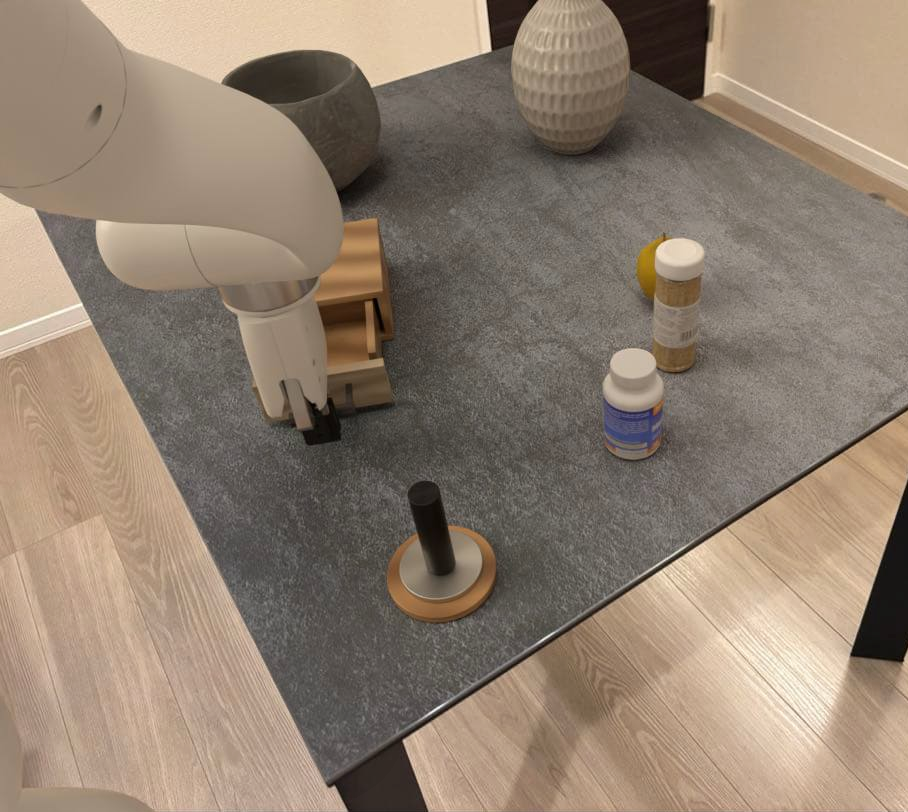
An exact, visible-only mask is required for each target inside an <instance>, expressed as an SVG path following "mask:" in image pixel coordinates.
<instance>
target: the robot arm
mask: <svg viewBox="0 0 908 812" xmlns="http://www.w3.org/2000/svg"><path fill="white" fill-rule="evenodd" d="M0 194H1V195H3V196H4V197H6V198H8V199H9V200H11V201H13V202H16V203H18V204H19V205H22V206H26V207H27V208H31V209H34V210H37V211H40V212H43V213H48V214H54V215H60V216H67V217H72V218H80V219H86V220H93V221H95V238H96V239H95V240H96V245H97V248H98V251H99V252H98V253H99V254H100V256H101V258H102V261H103V263H104V264H105V266H106V267H107V269H108V270H109V272H110V273H112V275H114V276H115V277H116V278H117V279H118V280H120V281H121V282H123V283H124V284H127V285H128V286H131V287H132V288H137V289H140V290H147V291H152V292H153V291H155V292H156V291H159V292H160V291H161V292H163V291H164V292H165V291H166V292H167V291H169V292H170V291H183V290H184V291H185V290H194V289H195V290H196V289H206V288H217V290H218V293H219V295H220V298H221V299H222V300H221V301H222V303H223V305H224V306H225V308H226V309H227V310H228V311H230V312H231V313H233V314H235V315H237V316H236V317H237V321H238V326H239V331H240V335H241V340H242V344H243V348H244V350H245V354H246V357H247V360H248V364H249V366H250V370H251V373H252V376H253V379H255V382H256V384H257V387H258V390H259V393H260V396H261V399H262V402H263V405H264V407H265V410H266V413H267V414H268V415H269V416H270V417H271V418H276V417H282V412H283V406H284V400H285V397H287V399H288V401H289V404H290V406H291V409H292V412H293V415H294V419H295V422H296V425H297V427H296V428H297V431H298V432H301V434H302V436H303V440H304V443H305V444H306V445H307V446H316V445H322V444H323V445H324V444H328V443H329V444H330V443H334V442H340V441H341V440H342V424H341V423H342V422H341V419H340V420H339V417H338V414H337V411H336V408H335V405H334V402H333V399H332V397H330V398H327V397H328V396H329V389H328V385H327V343H326V336H325V331H324V327H323V323H322V320H321V316H320V313H319V310H318V307H317V303H316V300H315V297H314V294H315V293H316V291H317V289H318V288H319V285H320V275H321V274H323V273H324V272H326V271H327V270H328V269H330V267H331V266H332V265H333V264H334V263H335V261H336V259H337V257H338V255H339V253H340V250H341V246H342V241H343V232H344V225H343V223H344V216H343V210H342V205H341V202H340V198H339V195H338V192H336V189H335V187H334V185H333V182H332V180H331V178H330V176H329V174H328V172H327V170H326V168H325V167H324V165H323V163H322V162H321V160H320V158H319V157H318V155H317V154H316V152H315V151H314V149H313V148H312V146H311V145H310V144H309V142H308V141H307V139H306V138H305V136H304V135H303V134H302V132H301V131H300V130H299V129H298V128H297V126H296V125H295V124H294V123H293V122H292V121H291V120H290V119H289V118H287V117H286V116H285V115H284V114H282V113H281V112H280V111H278V110H277V109H275V108H273V107H271V106H270V105H268V104H266V103H265V102H263V101H261V100H259V99H256V98H254V97H252V96H250V95H248V94H246V93H243V92H241V91H238V90H236V89H233V88H231V87H228V86H226V85H223V84H221V82H217V81H215V80H212V79H210V78H208V77H206V76H203V75H200V74H199V73H196V72H194V71H190V70H188V69H186V68H182V67H180V66H178V65H175V64H173V63H170V62H167V61H164V60H161V59H159V58H156V57H152V56H150V55H147V54H143V53H140V52H137V51H134V50H131V49H129V48H127V47H126V46H125V45H124V44H123V43H122V42H121V41H120V40H119V39H118V38H117V36H115V34H114V33H113V32H112V31H111V30H110V29H109V28H108V26H106V25H105V23H104V22H103V21H102V20H101V19H100V18H99V17H98V16H97V15H96V14H95V13H94V11H92V10H91V9H90V8H89V7H88V5H86V4H85V2H83V0H0ZM23 769H24V753H23V748H22V740H21V737H20V733H19V730H18V726H17V724H16V721H15V718H14V716H13V712H12V711H11V709H10V706H9V705H8V704H7V701H6V699H5V698H4V695H3V693H2V692H1V691H0V812H156V811H155V810H154V809H153V808H152V807H151V806H150V805H148V804H147V803H146V802H144V801H142V800H141V799H139V798H137V797H135V796H132V795H129V794H127V793H124V792H119V791H115V790H110V789H103V788H96V787H75V786H48V787H47V786H43V787H42V786H41V787H24V788H23V774H24V770H23Z"/></svg>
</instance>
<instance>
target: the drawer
mask: <svg viewBox="0 0 908 812" xmlns="http://www.w3.org/2000/svg"><path fill="white" fill-rule="evenodd" d="M318 310H319V313H320V316H321V320H322V323H323V327H324V331H325V336H326V343H327V385H328V389H329V396H328V397H327V398H330V397H332V399H333V402H334V405H335V408H336V411H337V414H338V417H339V420H340V421H341V420H345V419H352V418H356V417H357V408H363V407H369V406H374V405H381V404H386V403H393V402H394V397H393V396H394V395H393V390H392V387H391V382H390V379H389V375H388V371H387V367H386V364H385V360H384V359H385V358H384V357H383V350H382V349H383V348H382V341H381V333H380V319H379V314H378V310H377V306H376V302H375V298H372V299H365V300H359V301H353V302H346V303H340V304H334V305H327V306H321V307H318ZM251 389H252V390H253V393H254V396H255V397H256V398H255V399H256V400H257V402H258V406H259V408H260V409H261V412H262V415H263V416H264V419H265V421H266V423H275V422H280V421H286V420H288V424H289V427H290V428H292V429H293V428H297V425H296V422H295V419H294V415H293V412H292V409H291V406H290V404H289V401H288V399H287V397H285V400H284V406H283V412H282V417H276V418H271V417H270V416H269V415H268V414H267V413H266V410H265V407H264V405H263V402H262V399H261V396H260V393H259V390H258V387H257V384H256V382H255V379H254V378H253V379H252V386H251Z"/></svg>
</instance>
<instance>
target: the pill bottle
mask: <svg viewBox="0 0 908 812" xmlns="http://www.w3.org/2000/svg"><path fill="white" fill-rule="evenodd" d="M664 389H665V387H664V382H663V379H662V377H661V376H660V375H659V373H658V369H657V366H656V360H655V358H654V356H653V355H652V352H649V351H648V350H645V349H643V348H639V347H638V348H637V347H628V348H624V349H621V350H619V351H617V352H616V353H614V354H613V356H612V357H611V358H610V362H609V372H608V374H607V375H606V376H605V378H604V380H603V382H602V409H603V411H602V412H603V441H604V445H605V447H606V448H607V450H608V451H609V452H610V453H612V454H613V455H614V456H616V457H619V458H621V459H624V460H630V461H631V460H632V461H635V460H636V461H637V460H642V459H643V460H644V459H646V458H648V457H650V456H652V455H653V454H654V453H655V452H656V451H658V448H659V447H660V445H661V442H662V435H663V434H662V433H663V431H662V429H663V415H664V414H663V413H664V412H663V411H664V393H665V390H664Z"/></svg>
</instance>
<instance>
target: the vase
mask: <svg viewBox="0 0 908 812" xmlns="http://www.w3.org/2000/svg"><path fill="white" fill-rule="evenodd" d="M510 62H511V63H510V64H511V65H510V76H511V86H512V92H513V95H514V98H515V103H516V106H517V108H518V110H519V113H520V116H521V117H522V119H523V121H524V123H526V125H527V127H529V129H530V130H531V132H532V133H533V134H534V135H535V137H537V139H538V140H539V141H540V142H542V144H544V145H545V146H547V148H549V149H550V150H551V151H552V152H555V153H557V154H561V155H565V156H576V155H582V154H586V153H589V152H590V151H592V150H594V149H595V148H596V147H597V146H598V145H599V144H600V143H601V142H602V141H603V140H604V139H605V138H606V137H607V136H608V135H609V133H610V132H611V131H612V130H613V128H614V127H615V125H616V124H617V122H618V120H619V118H620V117H621V114H622V113H623V110H624V108H625V104H626V102H627V98H628V95H629V90H630V84H631V59H630V49H629V45H628V42H627V38H626V36H625V33H624V31H623V28H622V26H621V24H620V22H619V20H618V18H617V17H616V15H615V14H614V12H613V11H612V10H611V9H610V8H609V6H608V5H607V4H606V3H605V2H604V1H603V0H537V1H536V3H535V4H534V5H533V6H532V8H531V9H530V10H529V11H528V12H527V14H526V16H525V17H524V19H523V20H522V22H521V24H520V26H519V29H518V31H517V34H516V36H515V40H514V43H513V48H512V55H511V61H510Z"/></svg>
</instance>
